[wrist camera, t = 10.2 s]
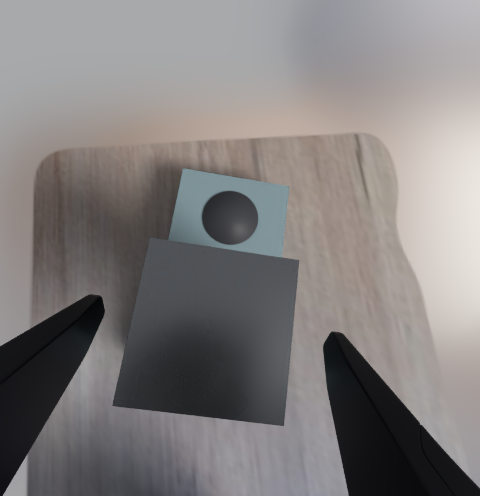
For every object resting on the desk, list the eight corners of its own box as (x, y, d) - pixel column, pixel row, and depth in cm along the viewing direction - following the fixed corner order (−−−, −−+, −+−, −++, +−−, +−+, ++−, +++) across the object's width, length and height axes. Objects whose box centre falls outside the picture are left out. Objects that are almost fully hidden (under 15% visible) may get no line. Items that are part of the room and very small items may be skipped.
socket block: (258, 383, 17) (266, 401, 14) (152, 370, 17) (137, 386, 14) (279, 202, 20) (289, 185, 17) (188, 187, 20) (182, 167, 17)
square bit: (240, 336, 18) (283, 425, 6) (186, 329, 18) (112, 405, 6) (247, 283, 19) (298, 260, 7) (196, 275, 19) (149, 237, 6)
